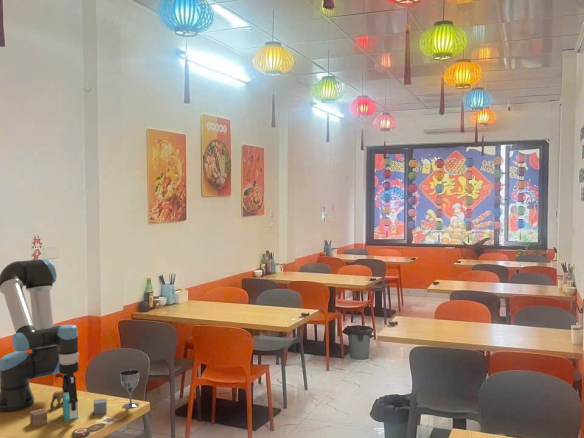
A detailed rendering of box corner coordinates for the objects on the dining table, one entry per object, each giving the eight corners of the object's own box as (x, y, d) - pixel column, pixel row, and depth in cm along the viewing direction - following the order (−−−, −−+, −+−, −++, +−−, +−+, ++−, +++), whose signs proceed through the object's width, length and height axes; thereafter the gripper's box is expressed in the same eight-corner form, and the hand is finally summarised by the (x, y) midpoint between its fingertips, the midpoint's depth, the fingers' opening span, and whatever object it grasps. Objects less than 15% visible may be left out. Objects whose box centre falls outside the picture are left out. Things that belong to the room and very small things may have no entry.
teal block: (63, 417, 228) (62, 396, 228) (75, 414, 231) (74, 393, 231) (65, 421, 224) (64, 399, 224) (77, 418, 227) (77, 397, 226)
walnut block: (30, 423, 222) (30, 411, 222) (43, 420, 225) (42, 408, 225) (34, 427, 218) (34, 415, 218) (47, 423, 222) (46, 411, 221)
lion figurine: (65, 398, 251) (65, 378, 250) (76, 398, 250) (75, 379, 250) (47, 410, 236) (46, 389, 236) (58, 410, 235) (57, 390, 235)
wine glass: (128, 401, 245) (127, 368, 244) (143, 403, 242) (142, 370, 242) (117, 408, 237) (116, 374, 237) (133, 409, 235) (132, 375, 234)
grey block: (94, 411, 235) (94, 399, 234) (106, 409, 236) (106, 398, 236) (93, 415, 230) (93, 403, 230) (106, 413, 231) (106, 402, 231)
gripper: (84, 368, 218) (85, 420, 219) (72, 354, 239) (73, 401, 240) (64, 371, 214) (66, 424, 215) (54, 357, 235) (55, 405, 236)
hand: (70, 412), depth 227 cm, fingers open, 13 cm apart
